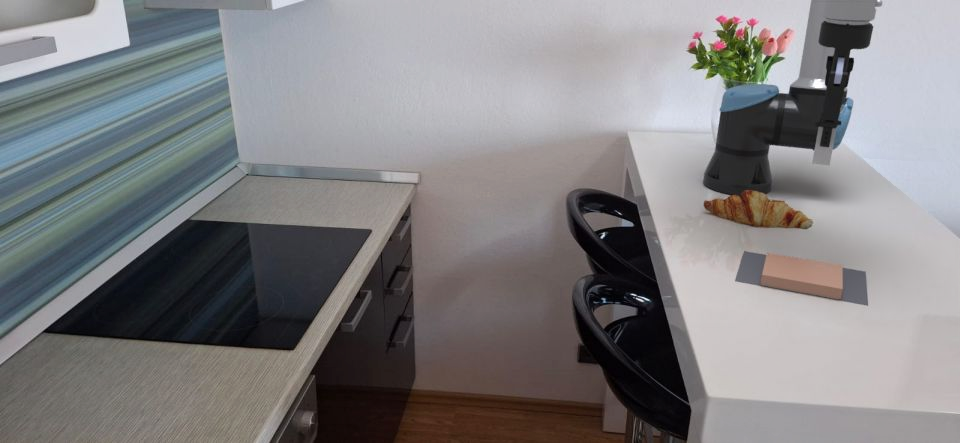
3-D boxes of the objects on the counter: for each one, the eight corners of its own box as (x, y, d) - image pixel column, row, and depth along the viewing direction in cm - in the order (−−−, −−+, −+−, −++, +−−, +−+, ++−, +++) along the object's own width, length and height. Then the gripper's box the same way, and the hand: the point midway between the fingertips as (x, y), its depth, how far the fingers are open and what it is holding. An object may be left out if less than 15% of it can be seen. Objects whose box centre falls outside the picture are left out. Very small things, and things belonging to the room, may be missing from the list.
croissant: (808, 242, 152) (815, 204, 152) (812, 236, 142) (819, 195, 143) (701, 224, 159) (708, 187, 160) (698, 216, 150) (706, 178, 151)
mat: (743, 255, 136) (744, 251, 136) (864, 275, 129) (865, 271, 128) (734, 285, 124) (734, 280, 124) (867, 310, 117) (868, 305, 116)
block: (767, 252, 130) (762, 274, 122) (842, 265, 126) (842, 288, 117) (765, 263, 131) (760, 285, 122) (840, 276, 126) (840, 300, 118)
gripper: (875, 28, 111) (844, 177, 120) (872, 17, 122) (845, 155, 131) (820, 24, 114) (795, 171, 123) (823, 14, 125) (799, 150, 134)
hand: (820, 163), depth 127 cm, fingers closed
